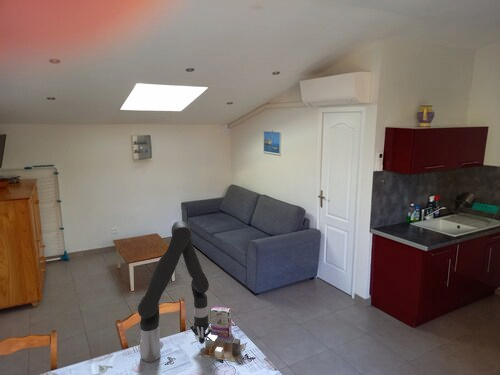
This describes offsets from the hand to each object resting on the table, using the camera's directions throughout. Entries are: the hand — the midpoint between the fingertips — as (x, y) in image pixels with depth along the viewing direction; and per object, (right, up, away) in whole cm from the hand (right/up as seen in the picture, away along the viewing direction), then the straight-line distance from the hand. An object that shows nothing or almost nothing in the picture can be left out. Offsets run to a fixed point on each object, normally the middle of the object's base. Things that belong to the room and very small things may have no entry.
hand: (202, 342), depth 189 cm
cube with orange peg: (+5, -2, -3) cm, 6 cm away
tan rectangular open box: (+11, -4, -3) cm, 12 cm away
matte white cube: (+10, -3, -7) cm, 13 cm away
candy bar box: (+9, -1, +12) cm, 15 cm away
